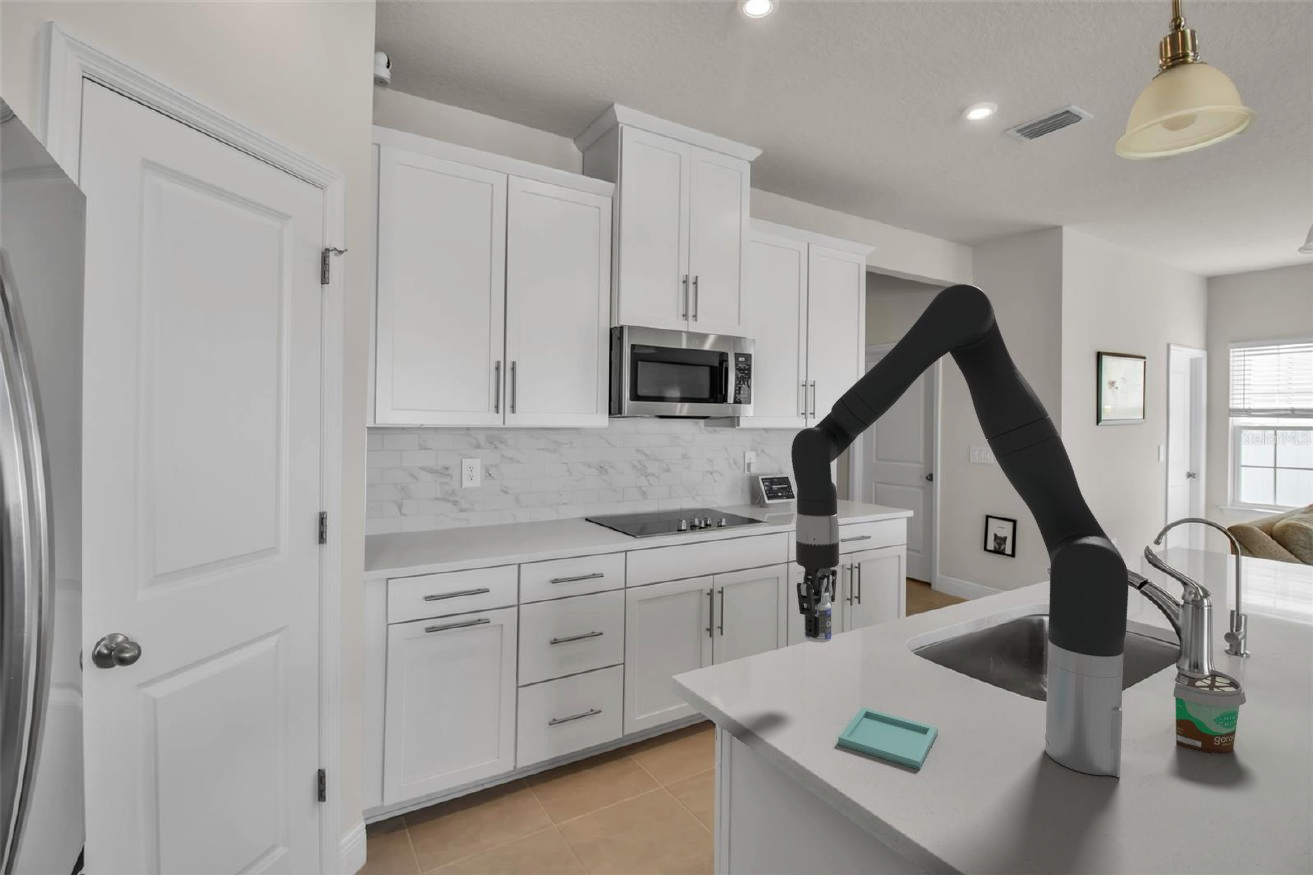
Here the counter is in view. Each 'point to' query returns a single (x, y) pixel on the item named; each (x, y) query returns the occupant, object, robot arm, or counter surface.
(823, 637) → the pill bottle
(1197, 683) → the food container
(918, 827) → the counter surface
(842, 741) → the tray
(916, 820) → the counter surface
